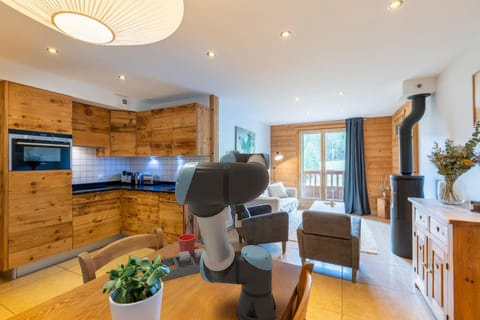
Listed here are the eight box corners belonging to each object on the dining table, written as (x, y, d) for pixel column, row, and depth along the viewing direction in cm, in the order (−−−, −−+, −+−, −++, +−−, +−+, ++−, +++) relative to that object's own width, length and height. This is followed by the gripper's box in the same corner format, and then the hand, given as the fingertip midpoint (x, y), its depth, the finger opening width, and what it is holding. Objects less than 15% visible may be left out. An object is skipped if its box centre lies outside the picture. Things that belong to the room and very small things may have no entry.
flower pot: (175, 256, 125) (175, 240, 125) (181, 248, 136) (181, 233, 136) (193, 256, 125) (193, 240, 125) (197, 248, 136) (197, 233, 136)
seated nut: (205, 266, 114) (205, 251, 114) (196, 268, 112) (196, 253, 112) (202, 262, 118) (203, 248, 118) (194, 264, 116) (194, 249, 116)
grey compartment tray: (212, 269, 110) (212, 261, 110) (158, 282, 98) (158, 273, 98) (204, 257, 124) (204, 250, 124) (155, 267, 112) (155, 260, 112)
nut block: (189, 269, 110) (189, 254, 110) (180, 271, 108) (180, 256, 108) (187, 265, 114) (187, 250, 114) (178, 267, 112) (178, 252, 112)
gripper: (251, 182, 96) (251, 229, 96) (227, 179, 118) (227, 217, 118) (237, 183, 93) (237, 231, 92) (215, 179, 114) (215, 218, 114)
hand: (231, 223), depth 105 cm, fingers open, 13 cm apart
